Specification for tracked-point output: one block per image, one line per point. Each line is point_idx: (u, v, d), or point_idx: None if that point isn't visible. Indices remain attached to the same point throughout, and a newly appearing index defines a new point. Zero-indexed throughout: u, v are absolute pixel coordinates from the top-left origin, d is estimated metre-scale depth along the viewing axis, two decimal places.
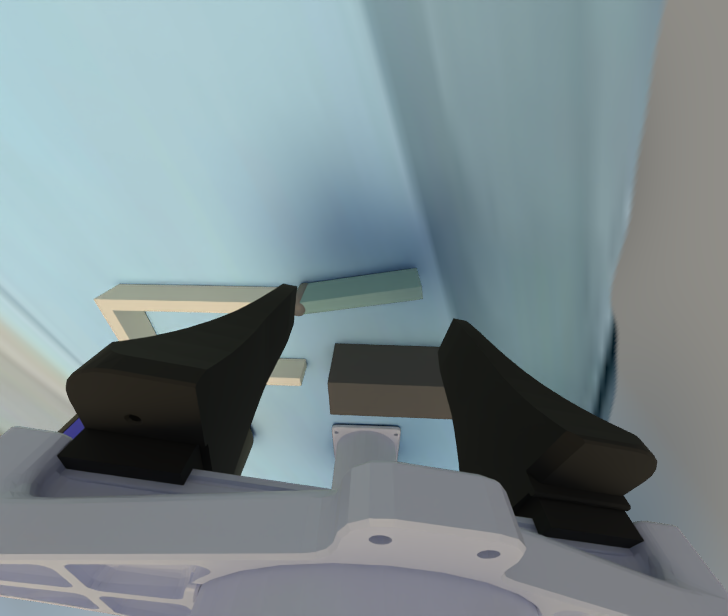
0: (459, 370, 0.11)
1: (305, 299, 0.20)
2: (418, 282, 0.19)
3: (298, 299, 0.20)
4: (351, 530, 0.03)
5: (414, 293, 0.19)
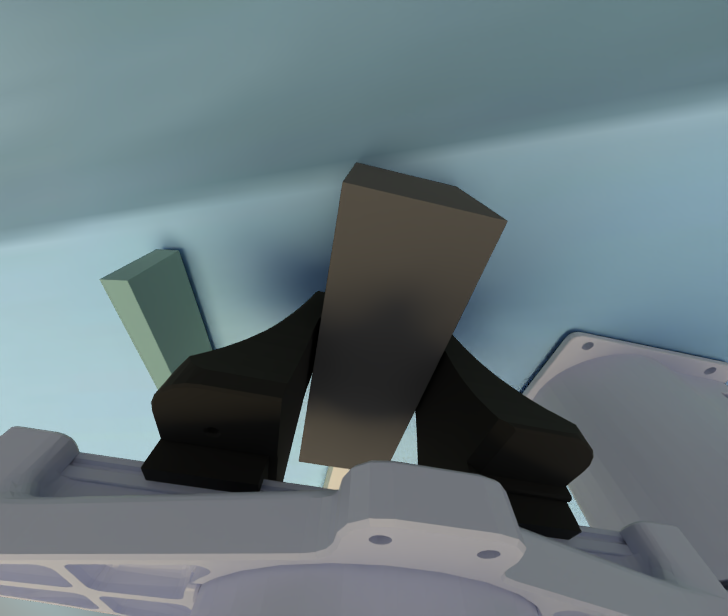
0: None
1: None
2: (114, 275, 0.10)
3: None
4: (351, 530, 0.03)
5: (119, 293, 0.10)
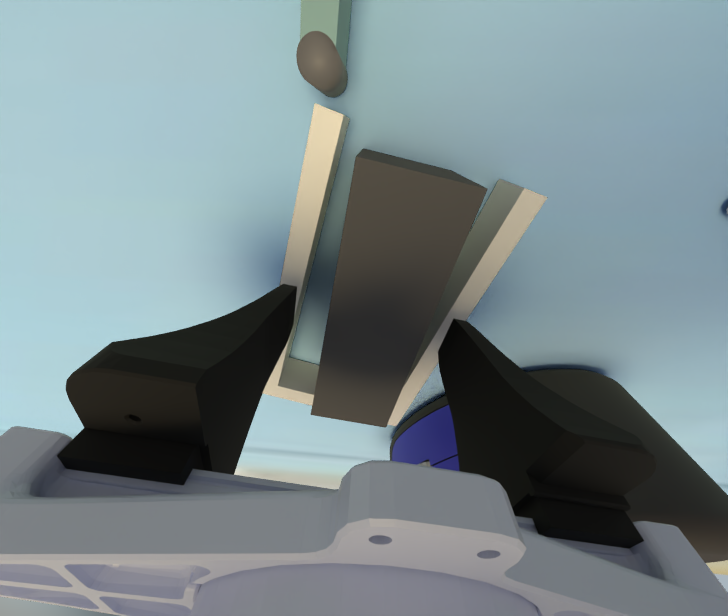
0: (459, 370, 0.11)
1: None
2: None
3: None
4: (351, 529, 0.03)
5: None
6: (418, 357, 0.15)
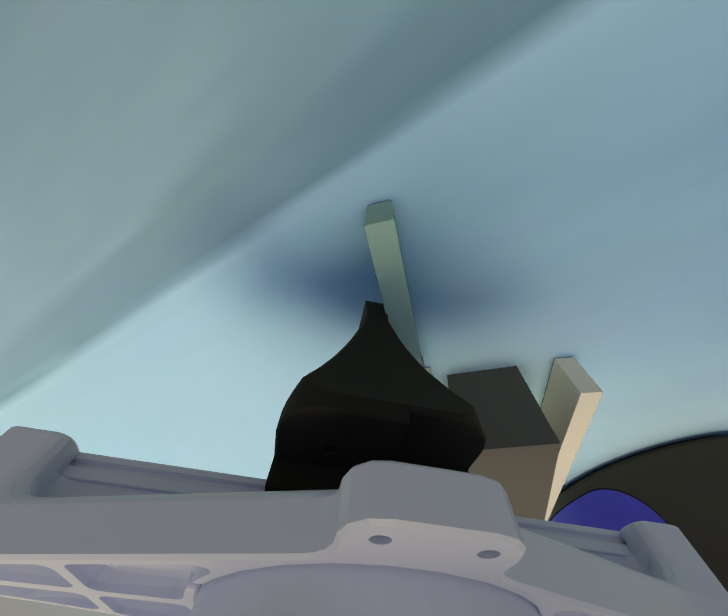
0: None
1: None
2: (365, 224, 0.10)
3: None
4: (351, 530, 0.03)
5: (381, 238, 0.09)
6: None
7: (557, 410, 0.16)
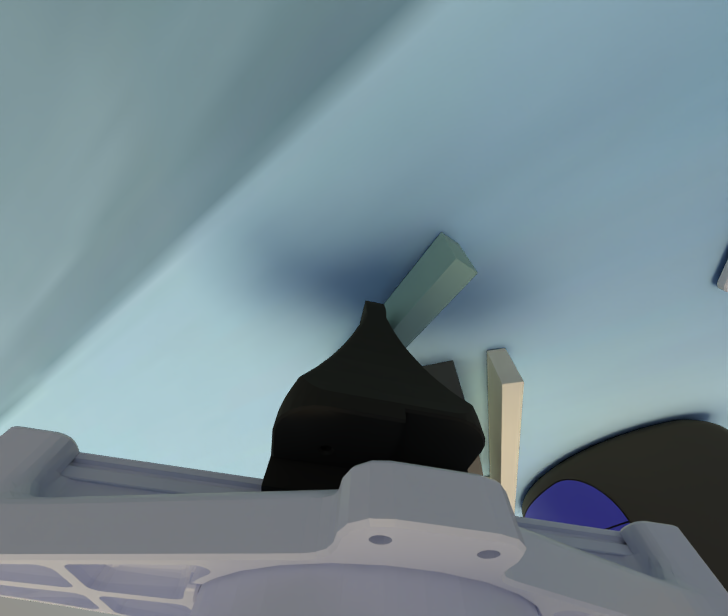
0: None
1: None
2: (450, 254, 0.10)
3: None
4: (351, 530, 0.03)
5: (456, 276, 0.10)
6: (499, 473, 0.19)
7: (495, 402, 0.16)
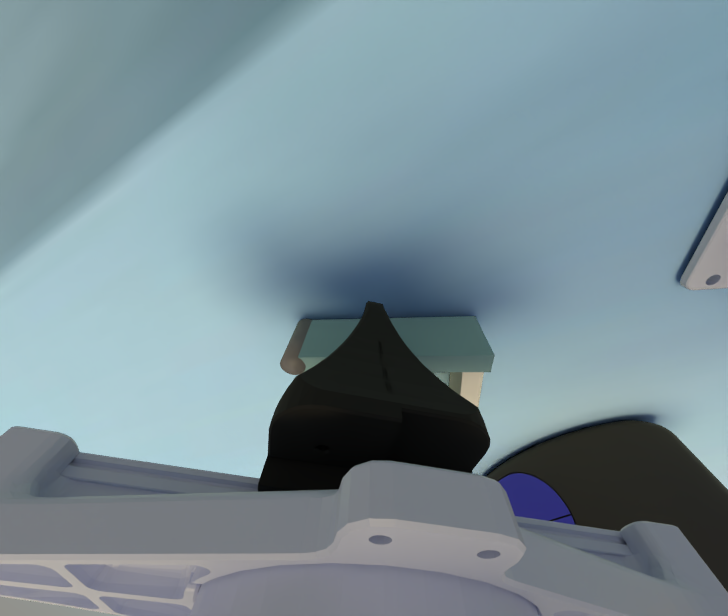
0: None
1: (307, 351, 0.13)
2: (486, 346, 0.12)
3: (296, 350, 0.13)
4: (351, 530, 0.03)
5: (480, 363, 0.12)
6: None
7: (455, 384, 0.16)
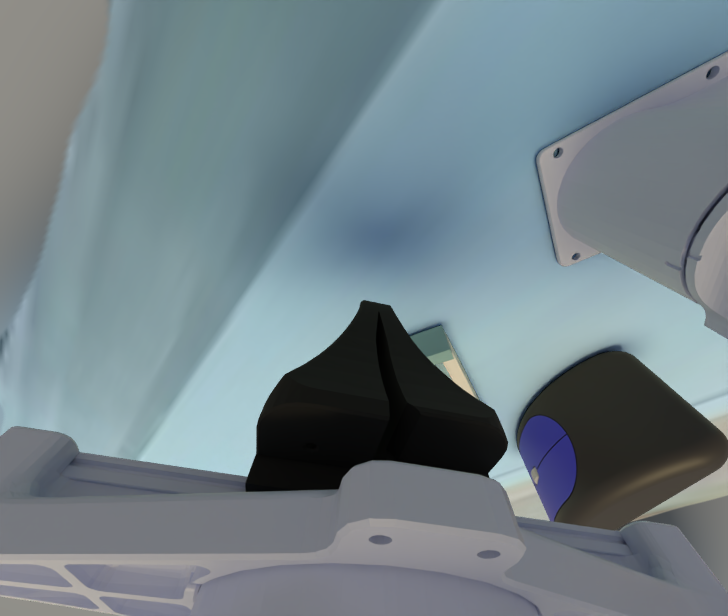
0: None
1: None
2: (446, 344, 0.20)
3: None
4: (351, 530, 0.03)
5: (444, 356, 0.20)
6: None
7: None
